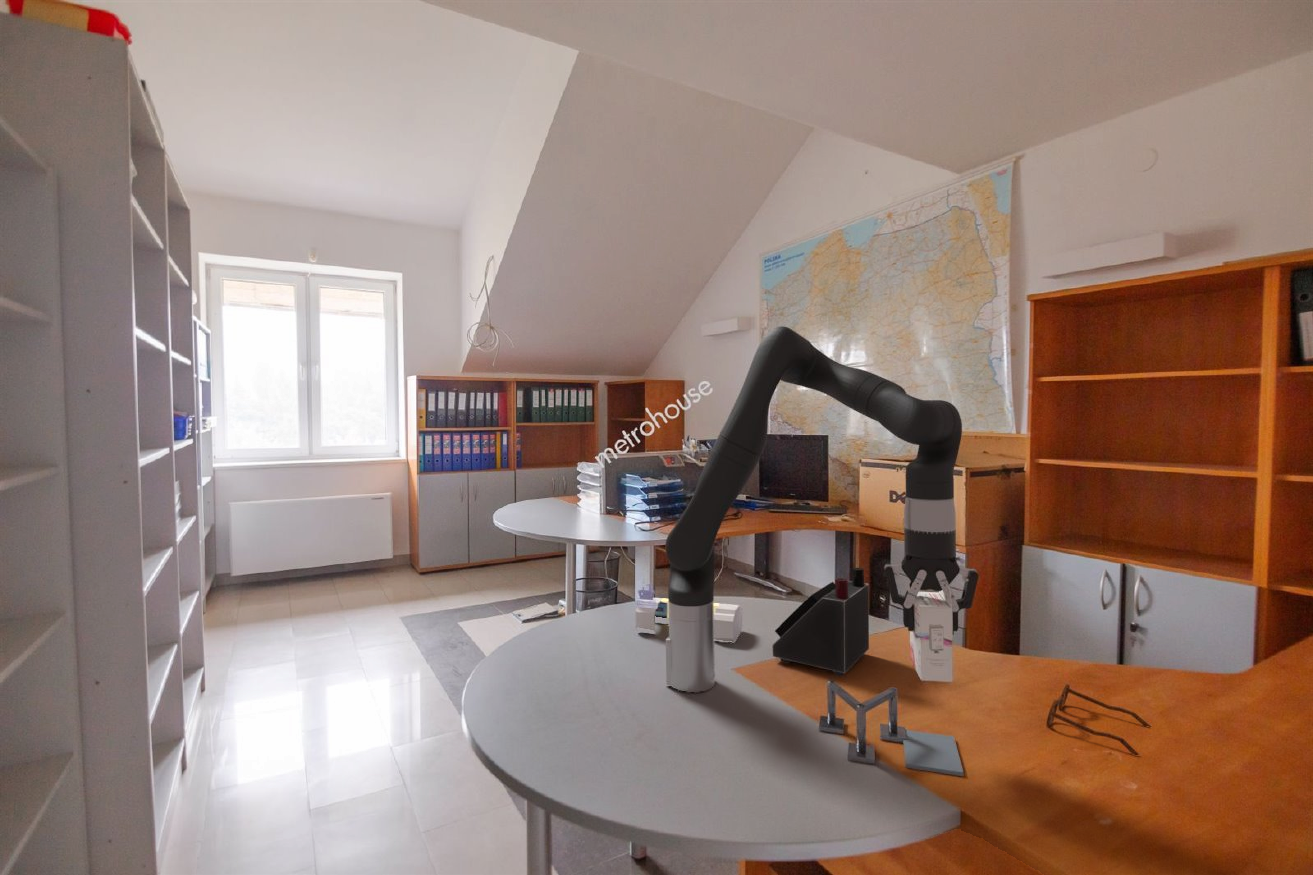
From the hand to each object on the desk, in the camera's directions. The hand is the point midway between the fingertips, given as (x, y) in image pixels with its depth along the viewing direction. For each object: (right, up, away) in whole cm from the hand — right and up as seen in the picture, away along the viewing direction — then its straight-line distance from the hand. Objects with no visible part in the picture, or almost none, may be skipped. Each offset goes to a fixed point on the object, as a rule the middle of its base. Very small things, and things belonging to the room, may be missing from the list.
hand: (930, 631), depth 99 cm
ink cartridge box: (0, -7, 0) cm, 7 cm away
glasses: (+32, -20, +7) cm, 38 cm away
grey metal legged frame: (-10, -20, +4) cm, 22 cm away
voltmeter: (-7, -19, +40) cm, 44 cm away
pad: (0, -20, 0) cm, 20 cm away
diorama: (-35, -19, +58) cm, 70 cm away
